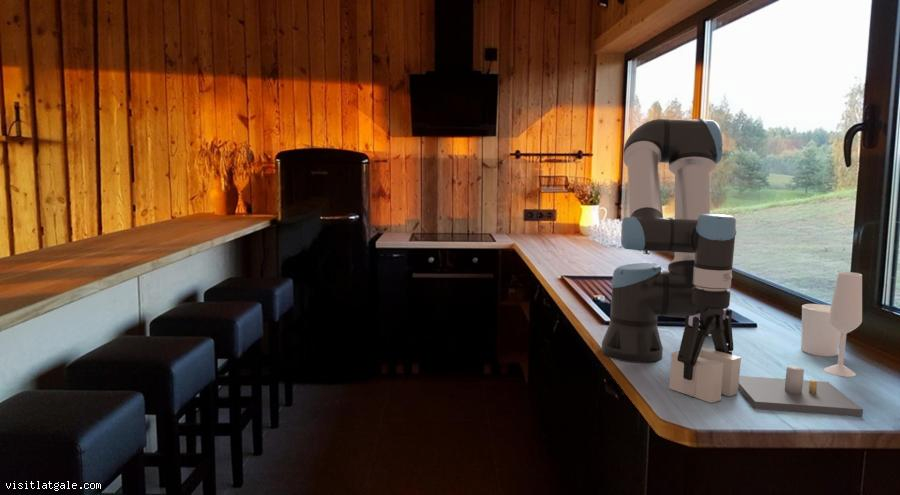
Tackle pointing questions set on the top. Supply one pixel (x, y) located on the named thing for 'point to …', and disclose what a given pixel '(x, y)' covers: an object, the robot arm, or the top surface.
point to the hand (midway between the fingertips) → (703, 388)
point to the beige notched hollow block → (709, 374)
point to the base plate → (796, 394)
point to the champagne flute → (845, 314)
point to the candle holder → (818, 331)
